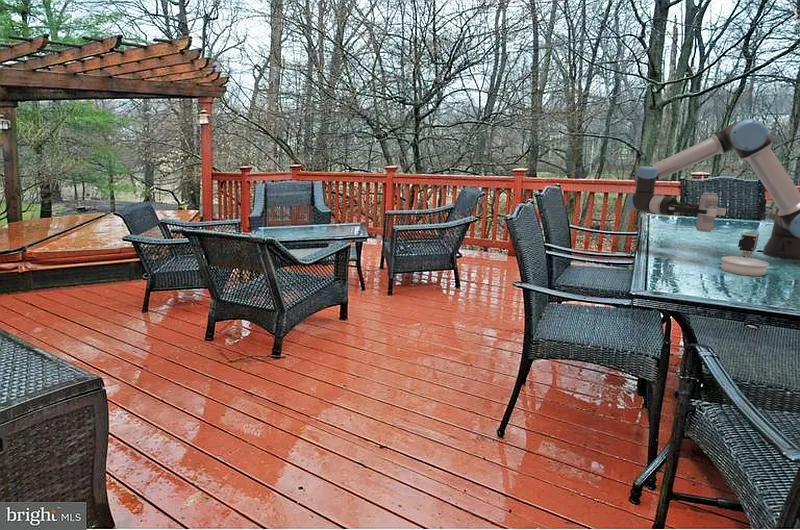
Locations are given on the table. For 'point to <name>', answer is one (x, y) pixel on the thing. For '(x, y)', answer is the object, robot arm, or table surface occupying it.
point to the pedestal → (744, 265)
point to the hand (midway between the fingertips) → (720, 212)
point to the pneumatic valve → (748, 243)
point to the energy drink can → (704, 221)
